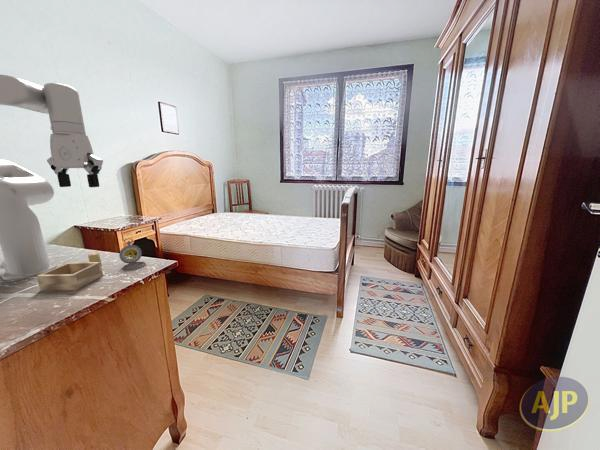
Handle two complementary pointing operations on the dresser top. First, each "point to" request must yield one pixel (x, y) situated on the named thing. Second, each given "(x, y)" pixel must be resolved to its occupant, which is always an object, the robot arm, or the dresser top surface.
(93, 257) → the lid
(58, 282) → the keepsake box
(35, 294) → the dresser top surface
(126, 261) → the pocket watch
